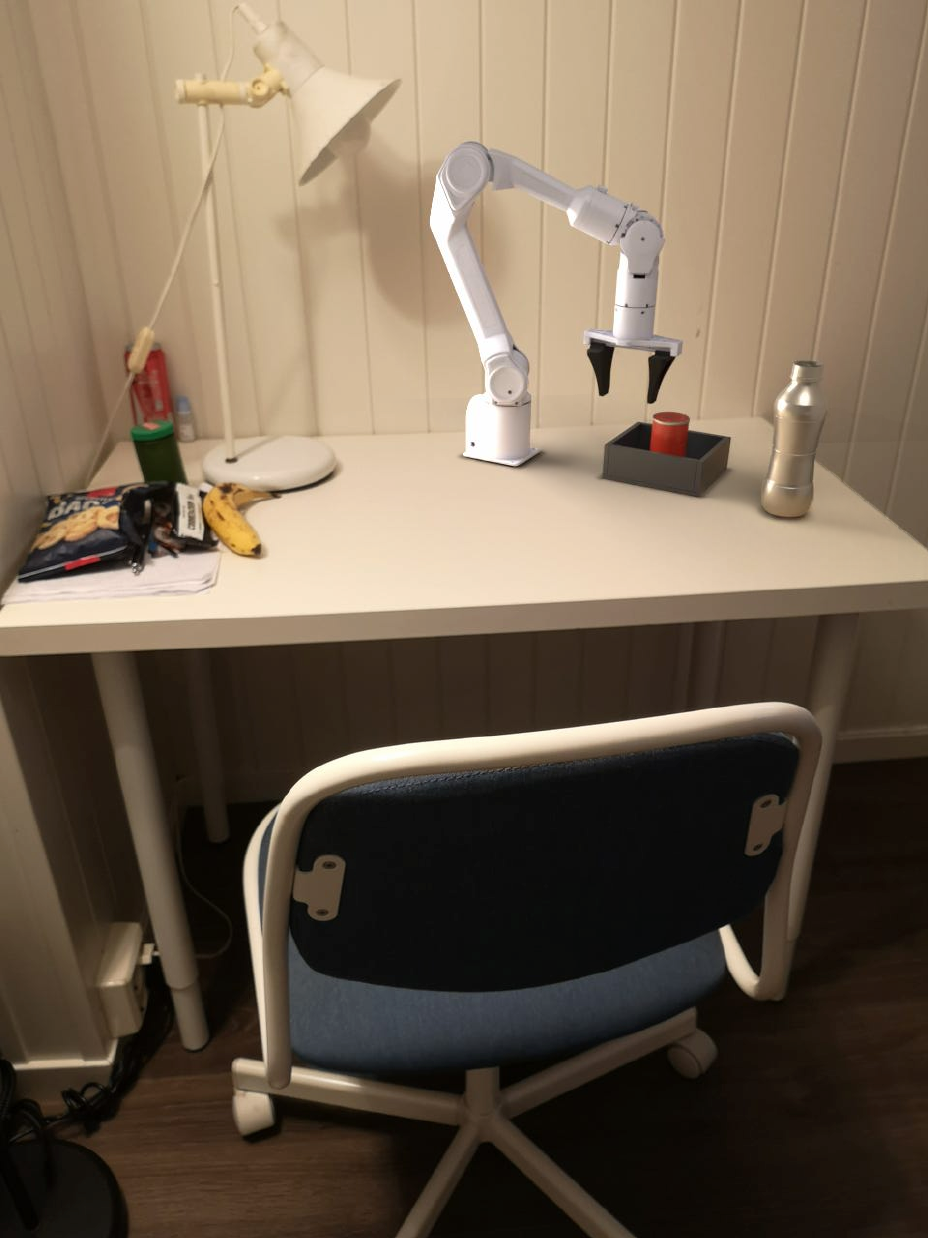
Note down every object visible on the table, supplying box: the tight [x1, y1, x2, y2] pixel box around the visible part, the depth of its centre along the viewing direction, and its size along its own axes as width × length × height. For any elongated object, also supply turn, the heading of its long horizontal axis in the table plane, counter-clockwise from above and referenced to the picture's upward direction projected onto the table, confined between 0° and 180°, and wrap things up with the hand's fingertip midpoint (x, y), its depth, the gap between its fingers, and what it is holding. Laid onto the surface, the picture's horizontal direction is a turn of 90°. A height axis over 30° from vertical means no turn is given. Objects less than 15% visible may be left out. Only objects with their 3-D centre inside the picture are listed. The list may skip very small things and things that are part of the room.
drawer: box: [601, 421, 732, 498], centre depth 143 cm, size 15×13×5 cm
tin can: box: [650, 411, 691, 457], centre depth 142 cm, size 5×5×8 cm
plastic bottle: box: [760, 359, 829, 518], centre depth 126 cm, size 6×7×20 cm
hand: (627, 398), depth 145 cm, fingers open, 7 cm apart
